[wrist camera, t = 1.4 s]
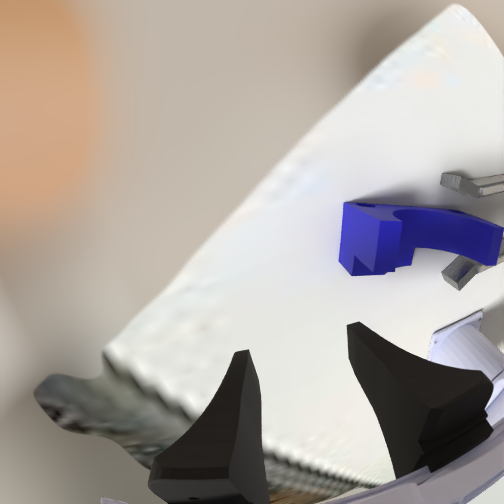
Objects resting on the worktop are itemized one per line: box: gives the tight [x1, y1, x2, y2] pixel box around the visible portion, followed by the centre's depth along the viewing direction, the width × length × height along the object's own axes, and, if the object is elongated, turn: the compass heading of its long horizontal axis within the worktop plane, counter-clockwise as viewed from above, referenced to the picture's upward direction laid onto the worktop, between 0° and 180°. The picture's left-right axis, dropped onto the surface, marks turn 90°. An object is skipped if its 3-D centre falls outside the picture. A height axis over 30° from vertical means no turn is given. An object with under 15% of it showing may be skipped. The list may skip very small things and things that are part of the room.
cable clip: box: [339, 202, 504, 276], centre depth 18 cm, size 12×4×6 cm, turn 90°
